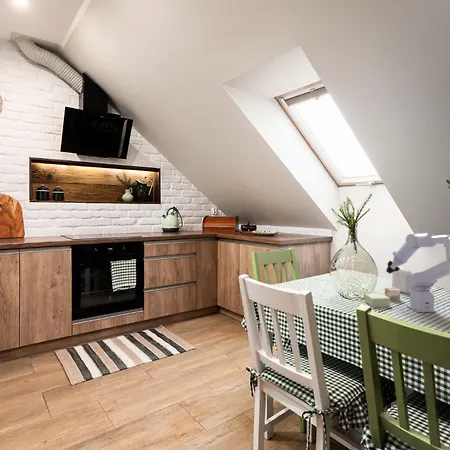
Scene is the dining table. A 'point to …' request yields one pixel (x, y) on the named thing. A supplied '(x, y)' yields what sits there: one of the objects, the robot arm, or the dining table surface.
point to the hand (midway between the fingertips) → (392, 267)
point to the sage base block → (377, 300)
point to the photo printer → (401, 280)
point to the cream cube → (392, 293)
